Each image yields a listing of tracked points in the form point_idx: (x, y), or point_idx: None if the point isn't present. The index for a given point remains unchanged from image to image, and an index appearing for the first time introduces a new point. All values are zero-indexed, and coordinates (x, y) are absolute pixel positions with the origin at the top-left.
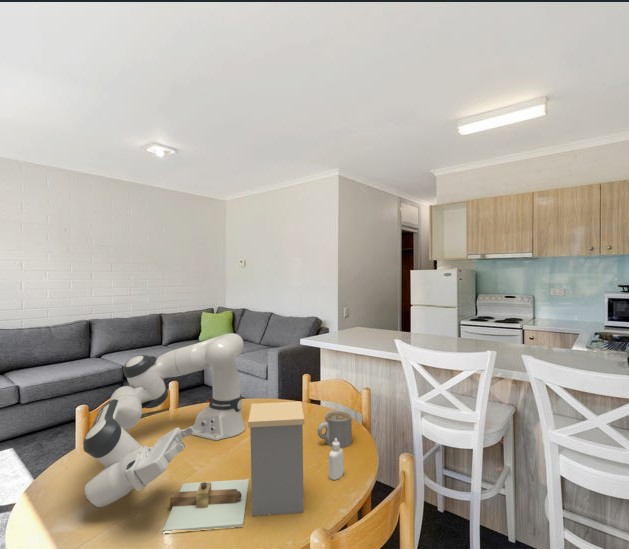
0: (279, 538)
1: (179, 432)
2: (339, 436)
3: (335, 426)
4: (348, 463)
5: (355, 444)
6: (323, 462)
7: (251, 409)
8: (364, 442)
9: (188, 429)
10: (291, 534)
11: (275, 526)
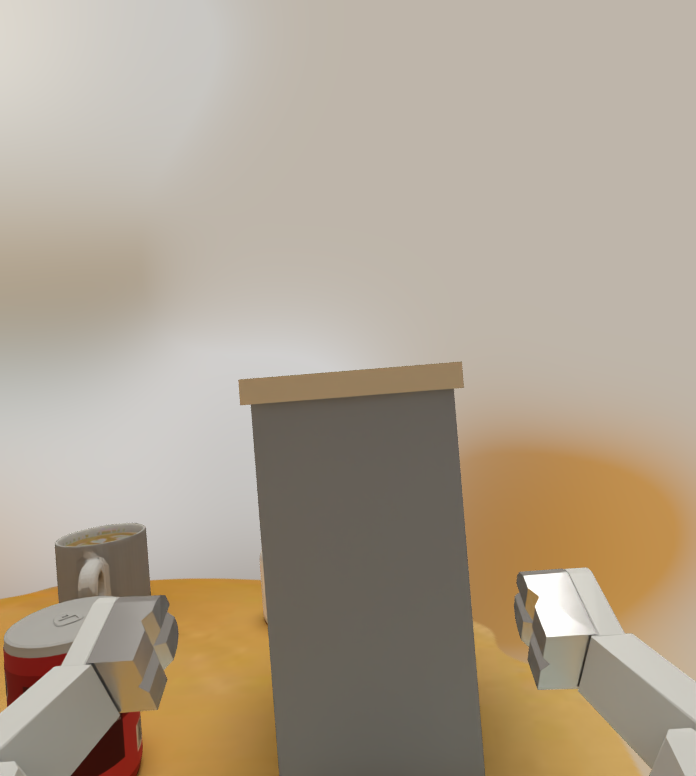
0: (587, 719)
1: (11, 768)
2: (143, 580)
3: (132, 553)
4: (237, 605)
5: (153, 595)
6: (201, 641)
7: (316, 373)
8: (157, 584)
9: (157, 607)
10: (557, 694)
11: (530, 732)
